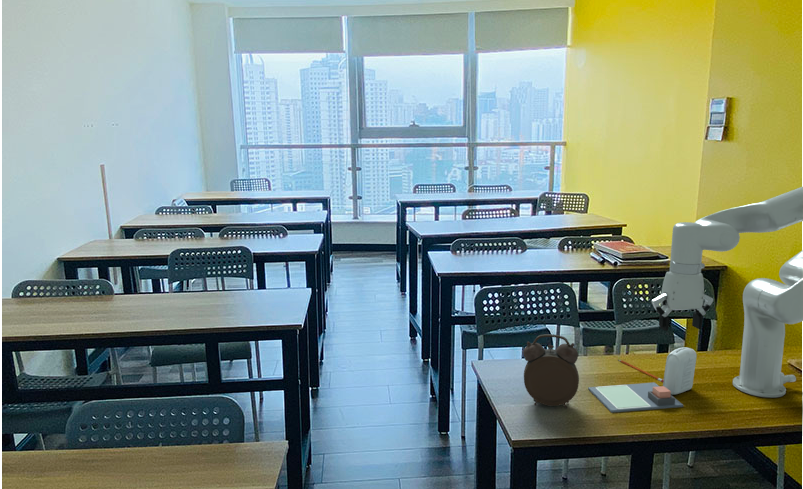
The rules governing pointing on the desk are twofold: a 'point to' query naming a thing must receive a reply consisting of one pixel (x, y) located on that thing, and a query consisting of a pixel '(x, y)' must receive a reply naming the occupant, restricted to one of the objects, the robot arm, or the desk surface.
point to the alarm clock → (551, 372)
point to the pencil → (641, 370)
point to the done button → (661, 392)
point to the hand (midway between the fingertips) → (680, 328)
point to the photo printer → (680, 370)
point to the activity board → (632, 397)
